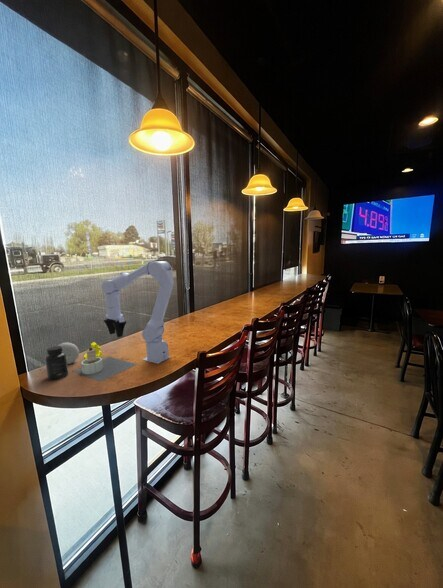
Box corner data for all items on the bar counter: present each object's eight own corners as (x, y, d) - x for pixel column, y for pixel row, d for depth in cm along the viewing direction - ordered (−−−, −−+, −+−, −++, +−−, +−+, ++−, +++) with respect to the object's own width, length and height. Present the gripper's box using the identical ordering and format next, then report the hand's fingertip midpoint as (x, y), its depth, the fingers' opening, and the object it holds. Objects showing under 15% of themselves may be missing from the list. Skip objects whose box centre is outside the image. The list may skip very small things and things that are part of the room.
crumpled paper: (81, 360, 114) (79, 344, 113) (97, 354, 121) (95, 339, 119) (89, 362, 111) (87, 346, 110) (105, 356, 118) (103, 340, 117)
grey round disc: (53, 367, 107) (50, 345, 105) (56, 364, 110) (53, 342, 109) (79, 364, 109) (76, 342, 108) (81, 361, 113) (78, 340, 111)
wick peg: (97, 369, 101) (94, 348, 100) (88, 371, 100) (86, 350, 99) (96, 366, 104) (94, 346, 103) (88, 368, 102) (86, 347, 101)
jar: (107, 368, 103) (106, 359, 102) (89, 376, 97) (88, 366, 96) (95, 365, 107) (94, 355, 106) (78, 372, 100) (77, 362, 100)
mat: (137, 365, 106) (137, 364, 106) (100, 382, 92) (100, 381, 92) (109, 357, 116) (109, 356, 116) (72, 372, 102) (72, 371, 101)
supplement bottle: (46, 377, 98) (42, 348, 96) (66, 371, 102) (62, 343, 101) (49, 383, 93) (45, 352, 91) (70, 376, 97) (67, 347, 96)
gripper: (129, 306, 111) (132, 335, 113) (114, 303, 121) (117, 330, 123) (114, 309, 106) (116, 339, 108) (99, 305, 116) (102, 334, 118)
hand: (116, 335), depth 115 cm, fingers open, 7 cm apart
